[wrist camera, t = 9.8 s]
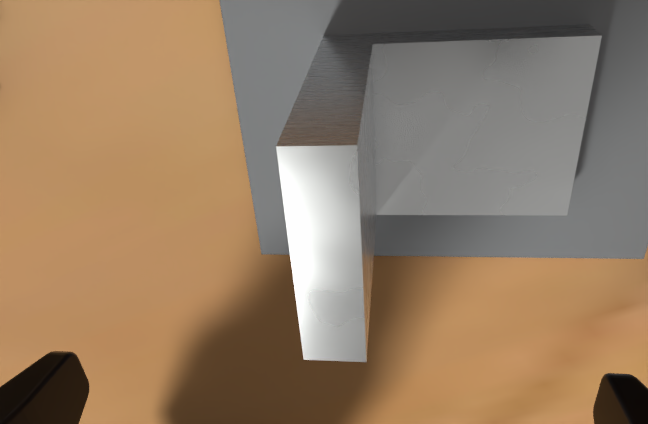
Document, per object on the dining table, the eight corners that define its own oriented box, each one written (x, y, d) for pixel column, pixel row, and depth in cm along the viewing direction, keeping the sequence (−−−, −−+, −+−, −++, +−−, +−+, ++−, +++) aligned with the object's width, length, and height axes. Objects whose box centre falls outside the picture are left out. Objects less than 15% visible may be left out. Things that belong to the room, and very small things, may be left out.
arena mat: (639, 252, 21) (643, 258, 21) (263, 248, 23) (261, 254, 23) (739, -97, 15) (747, -96, 15) (213, -61, 17) (209, -59, 17)
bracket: (589, 24, 17) (717, 140, 10) (558, 197, 20) (639, 373, 13) (323, 35, 18) (276, 146, 11) (334, 197, 21) (303, 359, 14)
